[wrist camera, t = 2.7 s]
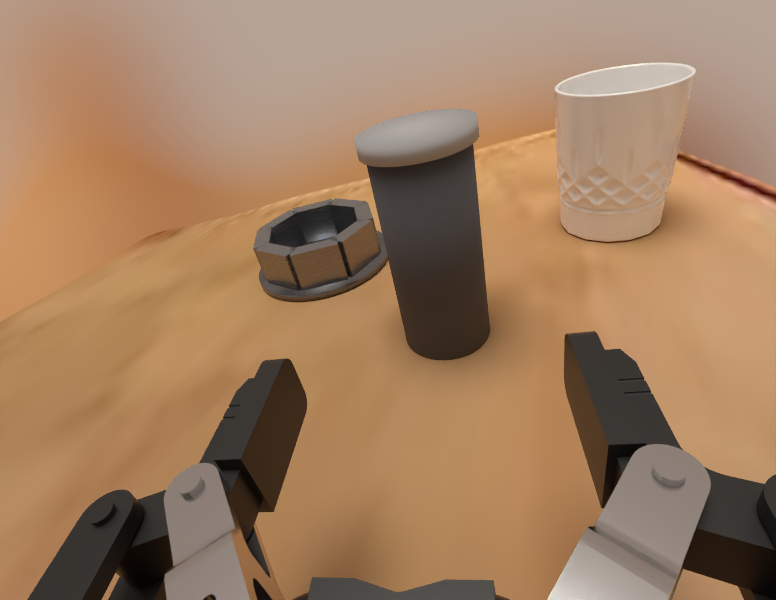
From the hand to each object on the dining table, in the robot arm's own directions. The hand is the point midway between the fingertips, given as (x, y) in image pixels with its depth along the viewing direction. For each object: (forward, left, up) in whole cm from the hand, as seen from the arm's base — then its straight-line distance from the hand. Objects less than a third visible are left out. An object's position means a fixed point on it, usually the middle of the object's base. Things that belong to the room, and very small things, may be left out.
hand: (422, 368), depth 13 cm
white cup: (-1, +26, -8) cm, 27 cm away
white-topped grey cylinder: (-6, +10, -8) cm, 14 cm away
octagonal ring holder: (-20, +14, -8) cm, 25 cm away
